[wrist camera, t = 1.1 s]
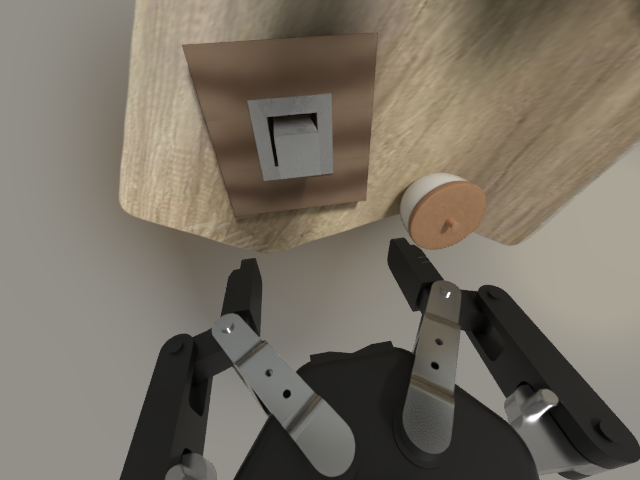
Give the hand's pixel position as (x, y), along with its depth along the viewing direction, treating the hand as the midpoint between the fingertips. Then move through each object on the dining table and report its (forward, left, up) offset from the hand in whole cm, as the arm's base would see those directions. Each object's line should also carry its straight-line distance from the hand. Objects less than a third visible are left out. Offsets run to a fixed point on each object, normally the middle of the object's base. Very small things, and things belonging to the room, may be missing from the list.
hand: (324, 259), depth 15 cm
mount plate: (0, 0, -28) cm, 28 cm away
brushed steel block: (0, 0, -28) cm, 28 cm away
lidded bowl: (+13, +23, -28) cm, 39 cm away
